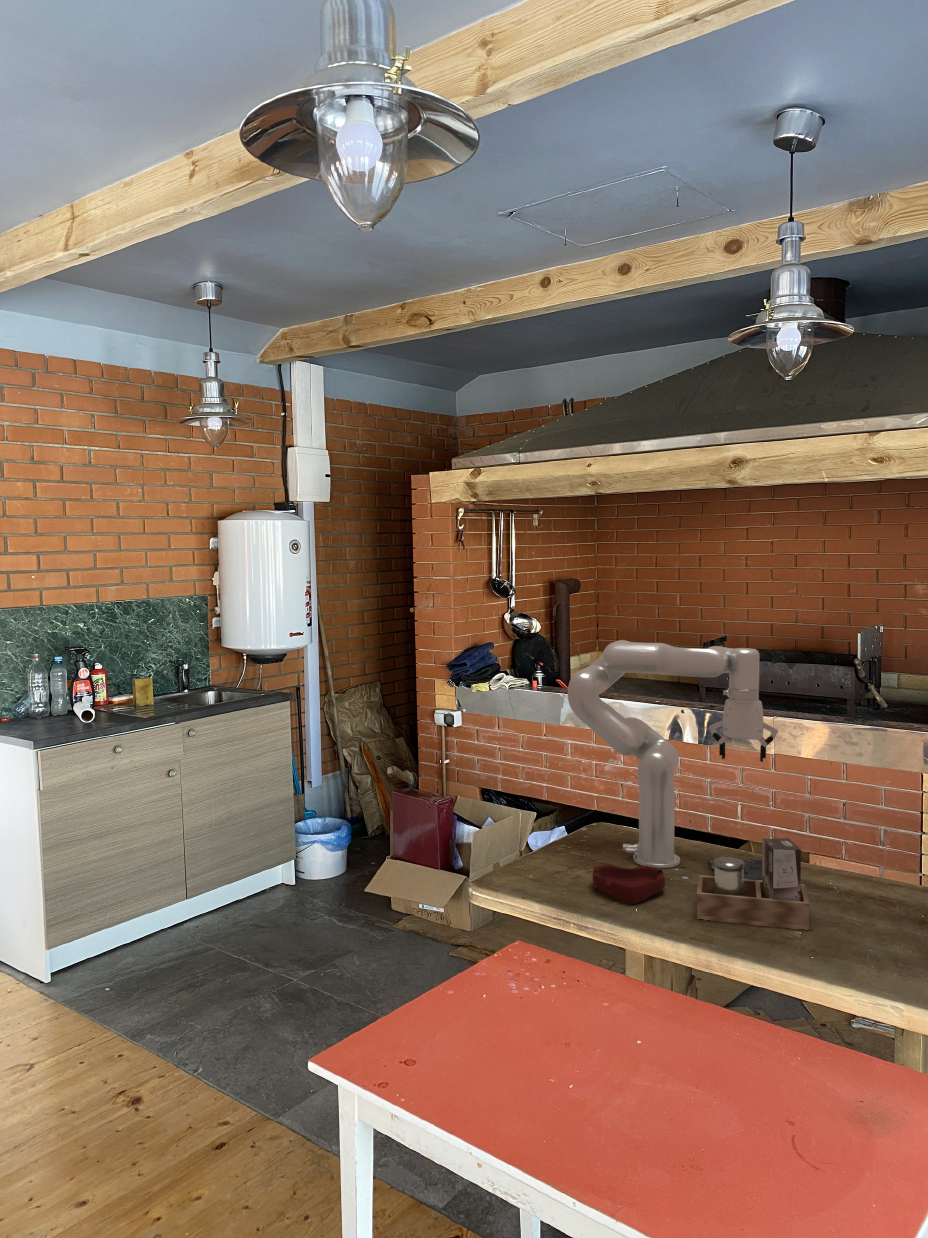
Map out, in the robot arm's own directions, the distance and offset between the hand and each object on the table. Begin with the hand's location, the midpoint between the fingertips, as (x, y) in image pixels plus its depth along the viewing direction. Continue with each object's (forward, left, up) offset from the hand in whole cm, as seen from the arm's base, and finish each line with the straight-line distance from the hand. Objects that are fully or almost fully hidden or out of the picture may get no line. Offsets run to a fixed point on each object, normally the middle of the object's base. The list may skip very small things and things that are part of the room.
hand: (742, 759), depth 233 cm
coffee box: (+8, -31, -29) cm, 43 cm away
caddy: (+2, -31, -30) cm, 43 cm away
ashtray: (-27, -25, -30) cm, 48 cm away
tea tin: (-3, -31, -30) cm, 43 cm away
